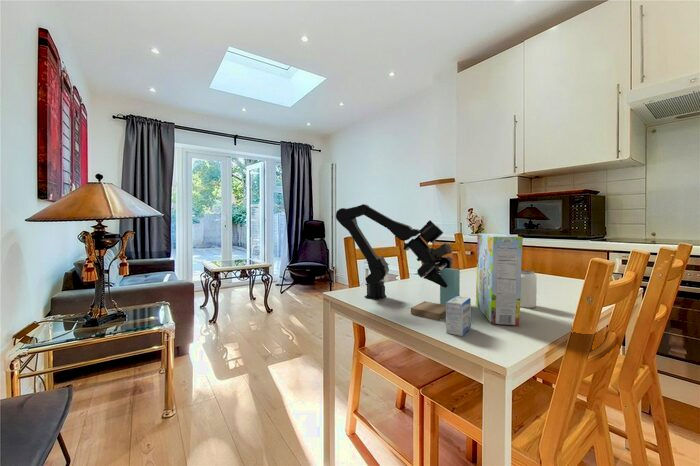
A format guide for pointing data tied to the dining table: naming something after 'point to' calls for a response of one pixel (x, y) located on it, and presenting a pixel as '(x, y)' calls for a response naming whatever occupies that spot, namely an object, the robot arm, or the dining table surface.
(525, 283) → the can
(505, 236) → the snack box
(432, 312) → the podium
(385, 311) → the dining table surface
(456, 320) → the medicine box
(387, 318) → the dining table surface
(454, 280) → the carton
